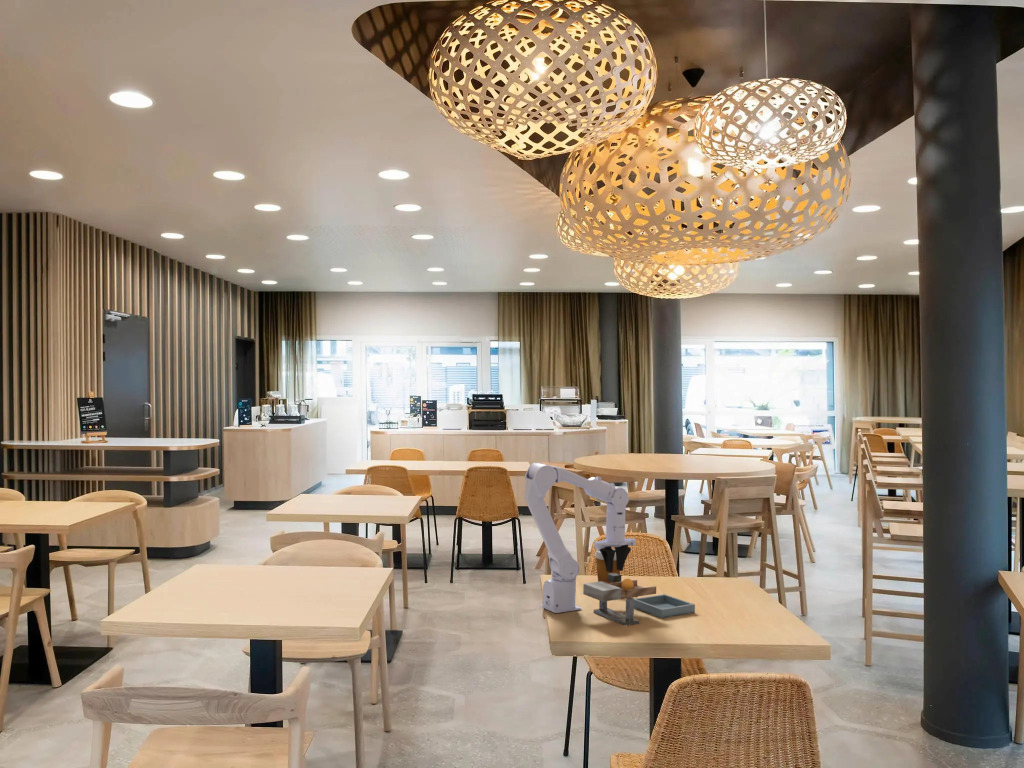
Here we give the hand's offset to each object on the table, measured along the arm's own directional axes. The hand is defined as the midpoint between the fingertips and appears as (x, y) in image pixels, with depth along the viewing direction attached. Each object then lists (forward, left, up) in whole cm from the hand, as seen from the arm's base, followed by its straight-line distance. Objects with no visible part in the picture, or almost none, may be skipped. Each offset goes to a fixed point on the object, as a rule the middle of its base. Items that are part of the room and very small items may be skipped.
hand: (614, 570), depth 239 cm
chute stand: (-8, -11, -10) cm, 17 cm away
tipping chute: (-7, -7, -4) cm, 10 cm away
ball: (-4, -11, -1) cm, 12 cm away
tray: (+10, -11, -10) cm, 18 cm away
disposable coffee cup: (+12, +18, -11) cm, 24 cm away
